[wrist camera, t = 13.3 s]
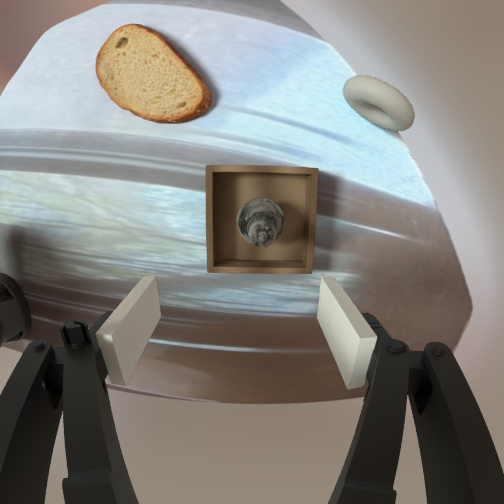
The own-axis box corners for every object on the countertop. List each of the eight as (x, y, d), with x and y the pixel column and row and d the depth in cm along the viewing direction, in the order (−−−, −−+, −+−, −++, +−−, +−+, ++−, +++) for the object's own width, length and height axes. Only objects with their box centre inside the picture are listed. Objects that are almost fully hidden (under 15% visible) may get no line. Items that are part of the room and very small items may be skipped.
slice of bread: (213, 120, 36) (209, 115, 32) (96, 137, 36) (84, 135, 32) (212, 14, 31) (209, 2, 27) (103, 36, 31) (92, 28, 27)
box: (211, 262, 41) (207, 272, 37) (210, 165, 37) (205, 165, 33) (306, 263, 41) (311, 273, 37) (311, 168, 37) (318, 168, 33)
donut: (329, 100, 34) (353, 81, 25) (339, 82, 34) (365, 59, 24) (387, 138, 36) (423, 133, 26) (396, 120, 35) (433, 111, 25)
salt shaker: (291, 217, 38) (307, 237, 27) (260, 247, 39) (263, 279, 28) (259, 186, 37) (263, 193, 26) (228, 217, 38) (218, 238, 27)
